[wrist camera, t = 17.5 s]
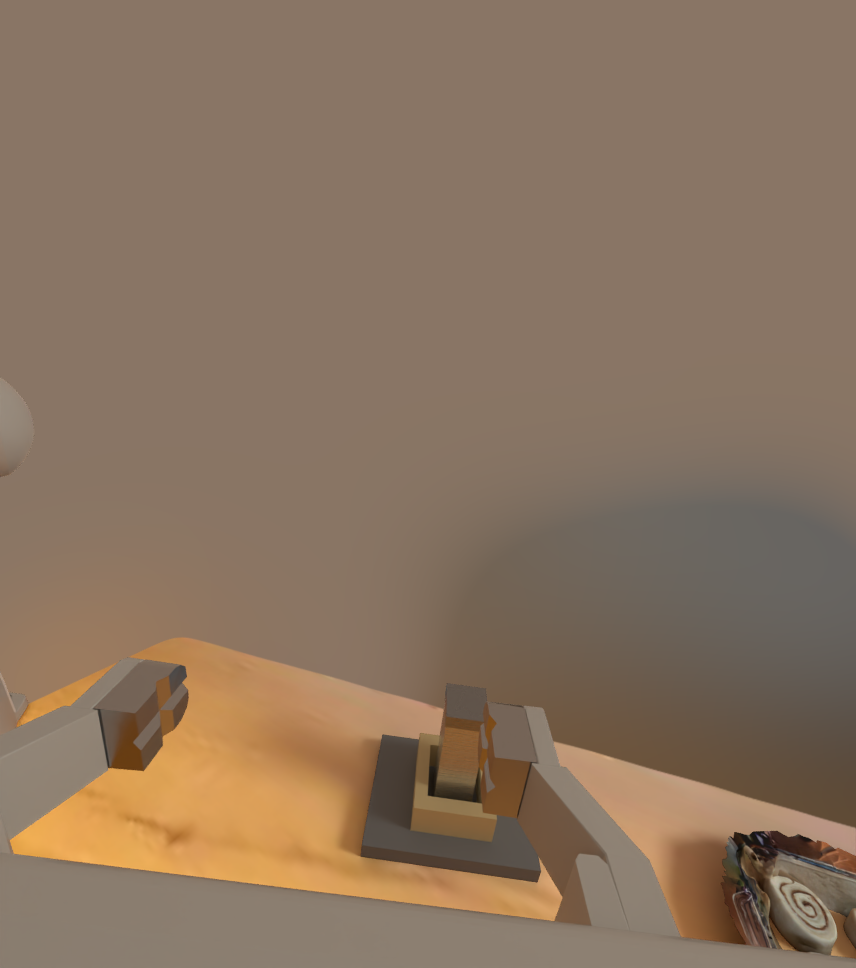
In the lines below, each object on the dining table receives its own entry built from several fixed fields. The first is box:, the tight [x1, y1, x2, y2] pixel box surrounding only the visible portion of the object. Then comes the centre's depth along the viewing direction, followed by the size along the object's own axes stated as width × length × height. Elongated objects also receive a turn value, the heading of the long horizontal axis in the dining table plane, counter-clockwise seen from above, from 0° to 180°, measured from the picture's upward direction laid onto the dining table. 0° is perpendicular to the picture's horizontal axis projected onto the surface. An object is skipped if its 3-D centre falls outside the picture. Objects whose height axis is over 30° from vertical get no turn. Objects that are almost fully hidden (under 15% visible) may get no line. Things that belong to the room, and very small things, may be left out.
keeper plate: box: [361, 733, 541, 882], centre depth 40 cm, size 16×11×4 cm
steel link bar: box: [433, 683, 487, 802], centre depth 39 cm, size 4×4×12 cm
